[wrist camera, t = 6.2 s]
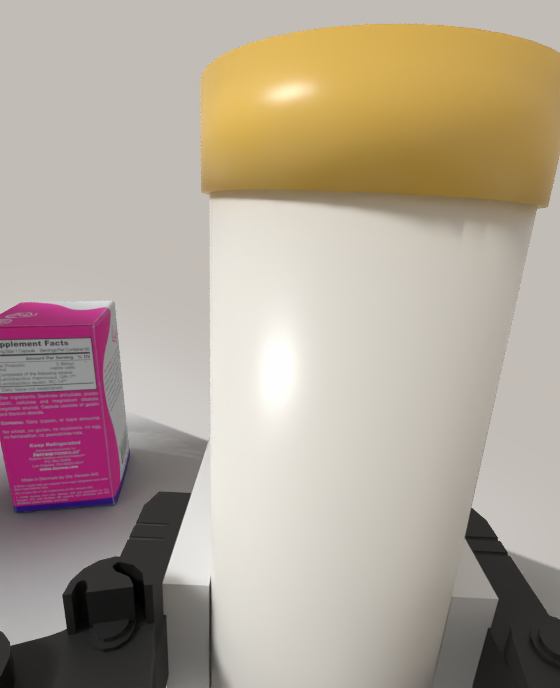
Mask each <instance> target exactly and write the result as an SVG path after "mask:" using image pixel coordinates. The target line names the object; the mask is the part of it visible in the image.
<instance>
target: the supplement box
mask: <svg viewBox="0 0 560 688" xmlns="http://www.w3.org/2000/svg"><path fill="white" fill-rule="evenodd" d="M119 353H120V352H119V343H118V333H117V322H116V312H115V303H114V301H84V302H21V303H19V304H18V305H16V306H14V307H12V308H11V309H9V310H7V311H5V312H4V313H2V314H0V442H1V447H2V452H3V457H4V462H5V466H6V471H7V476H8V481H9V486H10V491H11V496H12V501H13V506H14V511H15V512H30V511H42V510H54V509H66V508H79V507H92V506H108V505H115V504H116V502H117V500H118V497H119V493H120V490H121V486H122V483H123V479H124V475H125V471H126V468H127V464H128V460H129V456H130V451H129V444H128V434H127V425H126V415H125V405H124V394H123V385H122V373H121V363H120V354H119Z"/></svg>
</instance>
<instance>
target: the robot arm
mask: <svg viewBox="0 0 560 688" xmlns="http://www.w3.org/2000/svg"><path fill="white" fill-rule="evenodd" d="M62 596H63V603H64V610H65V618H66V625H67V629H65V630H64V631H62V632H59V633H56V634H53V635H50V636H47V637H43V638H40V639H36V640H32V641H28V642H24V643H20V644H16V645H12V646H10V642H9V640H8V639H7V638H6V636H5V635H4V634H3V632H1V631H0V688H166V684H167V688H211V495H210V438H209V441H208V444H207V448H206V451H205V454H204V457H203V460H202V463H201V466H200V469H199V472H198V475H197V478H196V481H195V484H194V488H193V491H192V493H177V492H158V493H157V494H156V495H155V496H154V497H153V498H152V499H151V500H150V501H149V502H147V503H146V504H145V505H144V507H143V509H142V511H141V513H140V516H139V518H138V520H137V522H136V525H135V526H134V528H133V530H132V532H131V535H130V538H129V540H128V541H127V543H126V545H125V547H124V549H123V551H122V554H121V556H120V557H112V558H108V559H104V560H100V561H98V562H96V563H94V564H92V565H90V566H88V567H86V568H84V569H83V570H82V571H81V572H80V573H79V574H78V575H76V576H75V577H74V578H73V579H72V580H71V581H70V583H69V585H68V586H67V588H66V590H65V592H64V593H63V595H62ZM432 688H560V620H559V619H558V618H555V617H552V616H549V614H548V613H547V612H546V610H545V608H544V607H543V605H542V604H541V602H540V601H539V599H538V598H537V596H536V595H535V593H534V592H533V590H532V589H531V587H530V586H529V584H528V583H527V581H526V580H525V578H524V577H523V575H522V574H521V572H520V571H519V569H518V568H517V566H516V565H515V563H514V561H513V560H512V558H511V557H510V556H508V554H507V551H506V549H505V548H504V546H503V545H502V543H501V542H500V541H498V537H497V536H496V534H495V533H494V531H493V530H492V528H491V527H490V525H489V524H488V522H487V521H486V520H485V519H484V518H483V517H482V516H480V515H479V514H478V513H477V512H476V511H475V510H474V509H472V508H471V511H470V515H469V520H468V524H467V529H466V533H465V538H464V543H463V547H462V552H461V556H460V561H459V565H458V570H457V574H456V579H455V583H454V588H453V593H452V597H451V602H450V606H449V611H448V615H447V620H446V624H445V629H444V633H443V638H442V643H441V647H440V652H439V656H438V661H437V665H436V670H435V674H434V679H433V684H432Z"/></svg>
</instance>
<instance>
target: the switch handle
mask: <svg viewBox="0 0 560 688" xmlns="http://www.w3.org/2000/svg"><path fill="white" fill-rule="evenodd" d="M559 156H560V53H559V52H557V51H555V50H553V49H552V48H549V47H547V46H544V45H541V44H539V43H536V42H534V41H531V40H527V39H523V38H520V37H516V36H512V35H508V34H504V33H498V32H491V31H486V30H480V29H474V28H464V27H454V26H444V25H424V24H366V25H352V26H339V27H329V28H322V29H314V30H306V31H299V32H294V33H289V34H285V35H279V36H275V37H270V38H267V39H263V40H260V41H256V42H253V43H249V44H246V45H244V46H241V47H239V48H236V49H234V50H231V51H229V52H227V53H225V54H224V55H222V56H220V57H218V58H217V59H215V60H214V61H213V62H211V64H209V65H208V66H207V67H206V69H205V70H204V72H203V73H202V76H201V181H202V182H201V189H202V193H205V194H210V495H211V688H432V684H433V679H434V674H435V670H436V665H437V661H438V656H439V652H440V647H441V643H442V638H443V633H444V629H445V624H446V620H447V615H448V611H449V606H450V602H451V597H452V593H453V588H454V583H455V579H456V574H457V570H458V565H459V561H460V556H461V552H462V547H463V543H464V538H465V533H466V529H467V524H468V520H469V515H470V511H471V506H472V501H473V497H474V492H475V488H476V483H477V479H478V474H479V469H480V465H481V460H482V456H483V452H484V447H485V442H486V438H487V433H488V428H489V424H490V420H491V415H492V411H493V406H494V402H495V397H496V392H497V388H498V383H499V379H500V374H501V370H502V365H503V360H504V356H505V351H506V346H507V342H508V338H509V333H510V329H511V324H512V320H513V315H514V311H515V306H516V301H517V297H518V292H519V287H520V283H521V278H522V274H523V270H524V265H525V261H526V256H527V251H528V247H529V242H530V238H531V233H532V229H533V224H534V220H535V215H536V211H537V208H546V207H548V204H549V200H550V195H551V191H552V186H553V182H554V177H555V173H556V169H557V164H558V160H559Z"/></svg>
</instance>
